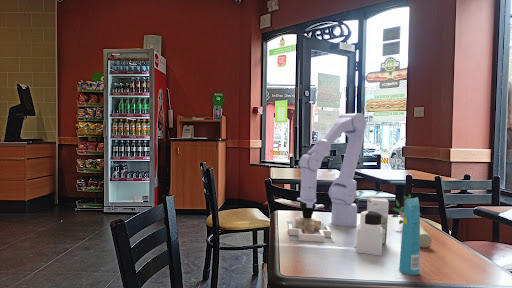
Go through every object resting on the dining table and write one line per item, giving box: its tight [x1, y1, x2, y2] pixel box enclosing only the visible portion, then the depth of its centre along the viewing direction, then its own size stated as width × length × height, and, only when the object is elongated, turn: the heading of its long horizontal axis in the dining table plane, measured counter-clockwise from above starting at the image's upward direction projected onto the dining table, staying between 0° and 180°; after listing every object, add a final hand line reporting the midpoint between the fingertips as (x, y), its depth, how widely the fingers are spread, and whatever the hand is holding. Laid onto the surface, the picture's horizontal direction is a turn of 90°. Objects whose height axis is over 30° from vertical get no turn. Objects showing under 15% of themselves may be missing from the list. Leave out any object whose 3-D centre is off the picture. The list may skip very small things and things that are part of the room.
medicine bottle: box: [355, 210, 383, 257], centre depth 110 cm, size 7×7×12 cm
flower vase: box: [390, 193, 433, 248], centre depth 133 cm, size 12×12×35 cm
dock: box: [287, 224, 332, 243], centre depth 122 cm, size 14×13×2 cm
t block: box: [294, 217, 322, 234], centre depth 128 cm, size 9×9×4 cm
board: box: [286, 221, 335, 245], centre depth 128 cm, size 14×26×1 cm, turn 177°
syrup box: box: [366, 196, 390, 245], centre depth 121 cm, size 6×6×14 cm
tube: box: [398, 196, 421, 276], centre depth 94 cm, size 7×5×19 cm, turn 140°
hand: (306, 223), depth 133 cm, fingers closed
